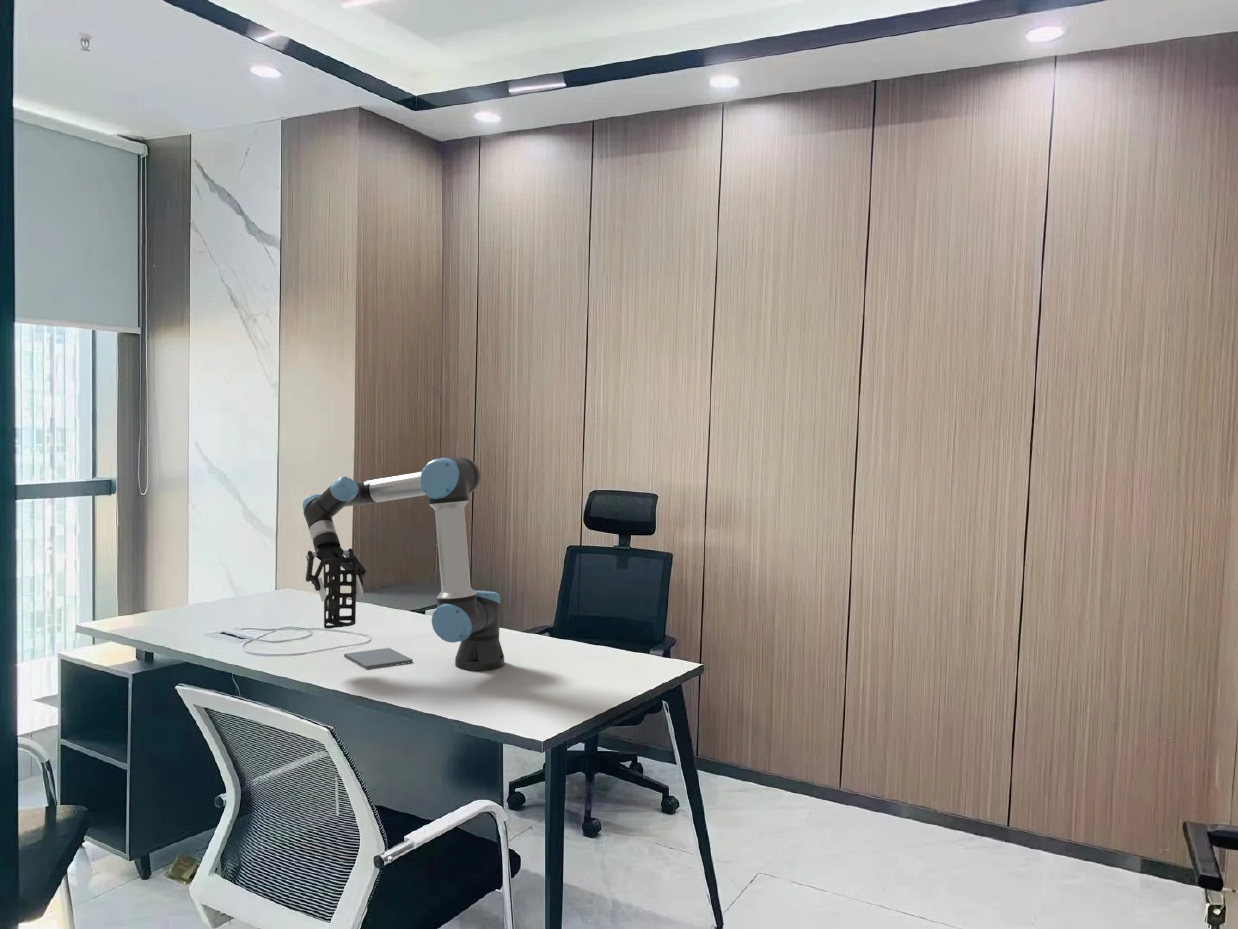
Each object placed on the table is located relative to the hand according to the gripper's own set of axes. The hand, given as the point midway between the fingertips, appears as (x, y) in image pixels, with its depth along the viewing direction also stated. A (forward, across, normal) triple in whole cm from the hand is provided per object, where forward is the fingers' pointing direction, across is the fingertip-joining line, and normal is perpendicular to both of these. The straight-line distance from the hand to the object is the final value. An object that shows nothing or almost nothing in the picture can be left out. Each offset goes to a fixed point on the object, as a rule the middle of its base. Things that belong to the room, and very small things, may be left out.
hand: (343, 596), depth 263 cm
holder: (+5, 0, -9) cm, 10 cm away
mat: (+10, -15, -22) cm, 29 cm away
